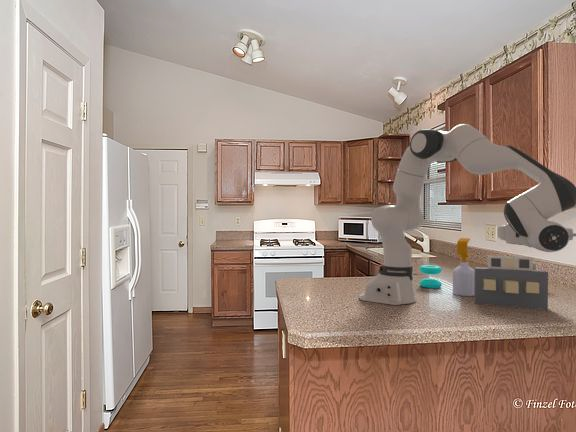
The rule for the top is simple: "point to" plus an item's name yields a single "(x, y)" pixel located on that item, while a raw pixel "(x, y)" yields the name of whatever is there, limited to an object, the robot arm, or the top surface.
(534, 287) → the button right
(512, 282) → the button mid
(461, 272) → the soap bottle
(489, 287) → the button left
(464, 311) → the top surface
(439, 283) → the donuts
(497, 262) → the panel
